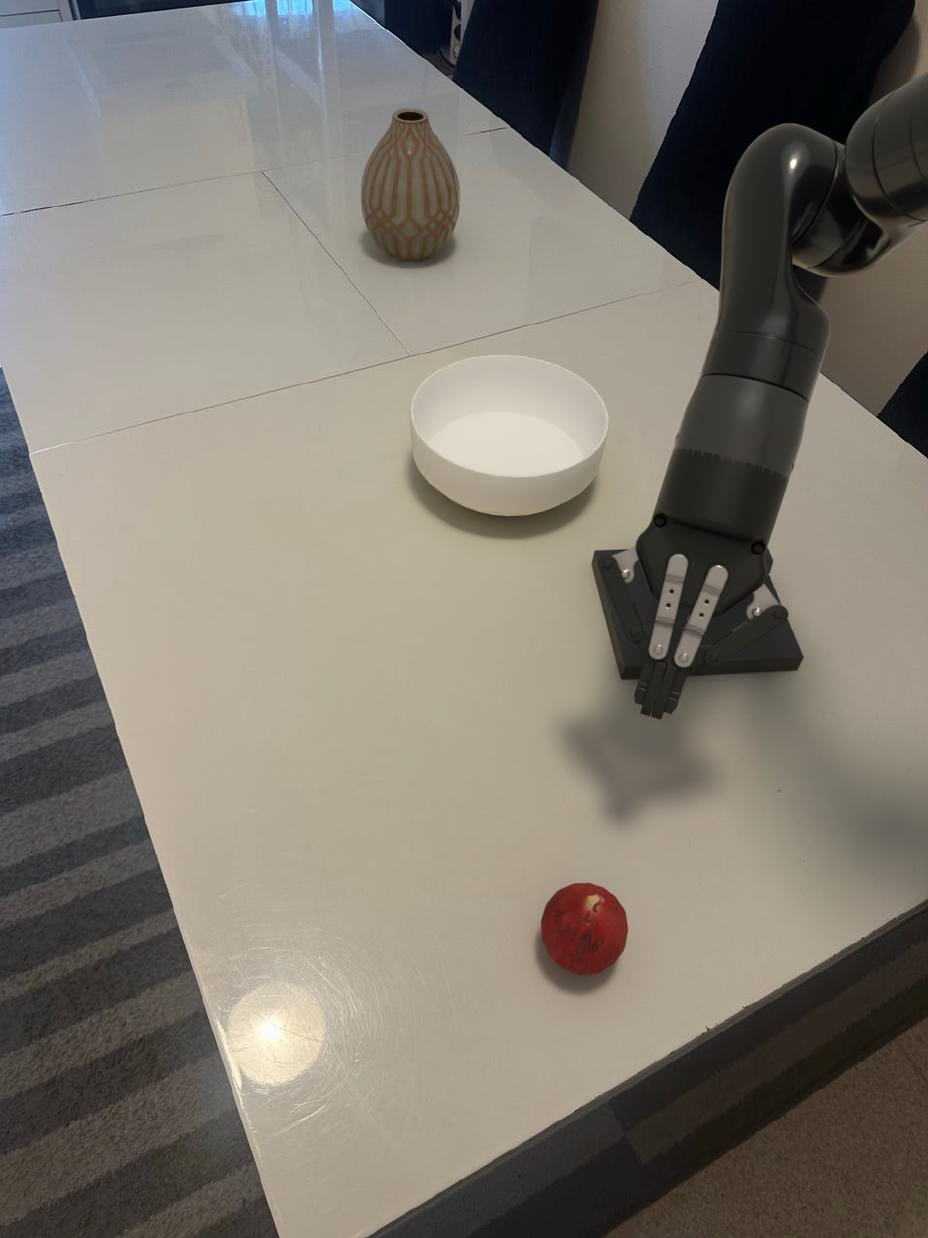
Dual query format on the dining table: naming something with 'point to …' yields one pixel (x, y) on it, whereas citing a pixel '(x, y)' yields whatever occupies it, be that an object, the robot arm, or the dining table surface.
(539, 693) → the dining table surface
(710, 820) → the dining table surface
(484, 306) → the dining table surface
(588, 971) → the pomegranate
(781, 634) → the scale
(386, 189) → the vase
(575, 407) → the bowl
